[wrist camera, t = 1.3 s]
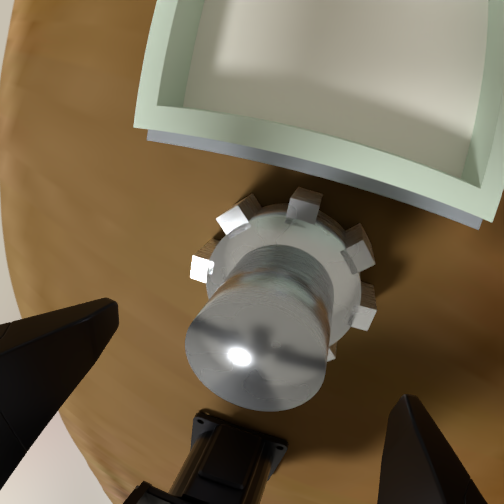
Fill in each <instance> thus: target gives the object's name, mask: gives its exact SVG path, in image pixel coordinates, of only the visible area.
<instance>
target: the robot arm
mask: <svg viewBox="0 0 504 504" xmlns="http://www.w3.org/2000/svg"><path fill="white" fill-rule="evenodd" d="M118 325H119V314H118V304H117V302H116V301H114V300H111V299H109V298H101V299H98V300H94V301H90V302H86V303H82V304H79V305H75V306H71V307H67V308H63V309H59V310H55V311H51V312H48V313H44V314H40V315H36V316H32V317H28V318H24V319H20V320H17V321H13V322H11V323H10V322H9V323H5V324H1V325H0V490H1V489H2V487H3V486H4V484H5V483H6V481H7V480H8V478H9V477H10V475H11V474H12V473H13V471H14V470H15V468H16V467H17V466H18V464H19V463H20V461H21V460H22V458H23V457H24V456H25V454H26V453H27V451H28V450H29V449H30V447H31V446H32V444H33V443H34V441H35V440H36V439H37V438H38V436H39V435H40V434H41V432H42V431H43V429H44V428H45V427H46V426H47V424H48V423H49V422H50V420H51V419H52V418H53V416H54V415H55V414H56V412H57V411H58V410H59V408H60V407H61V406H62V405H63V403H64V402H65V401H66V399H67V398H68V397H69V396H70V394H71V393H72V392H73V390H74V389H75V388H76V387H77V385H78V384H79V383H80V382H81V380H82V379H83V378H84V376H85V375H86V374H87V373H88V371H89V370H90V369H91V368H92V366H93V365H94V364H95V362H96V361H97V359H98V358H99V356H100V355H101V353H102V352H103V350H104V349H105V347H106V345H107V344H108V342H109V341H110V339H111V338H112V336H113V335H114V333H115V332H116V330H117V328H118ZM287 449H288V442H287V441H285V440H282V439H279V438H275V437H272V436H268V435H265V434H261V433H258V432H255V431H252V430H249V429H246V428H243V427H239V426H237V425H234V424H231V423H228V422H225V421H222V420H219V419H217V418H214V417H211V416H208V415H206V414H203V413H196V415H195V417H194V419H193V429H192V439H191V450H190V453H189V455H188V457H187V459H186V460H185V462H184V464H183V466H182V468H181V470H180V472H179V474H178V476H177V477H176V479H175V481H174V483H173V485H172V487H171V489H170V490H169V492H168V493H166V492H164V491H162V490H160V489H158V488H155V487H153V486H152V484H150V483H148V482H146V481H143V482H142V483H141V485H140V486H136V488H135V489H134V490H133V492H132V493H131V494H130V495H129V497H128V498H127V499H126V500H125V502H124V503H123V504H260V501H261V498H262V495H263V492H264V488H265V485H266V482H267V481H268V480H269V478H270V477H271V475H272V474H273V472H274V471H275V469H276V467H277V466H278V464H279V463H280V461H281V459H282V458H283V456H284V454H285V453H286V451H287ZM377 504H488V503H487V502H486V501H485V499H484V498H483V496H482V495H481V493H480V491H479V490H478V488H477V487H476V485H475V484H474V482H473V480H472V479H470V476H469V474H468V473H467V471H466V469H465V468H464V466H463V465H462V463H461V461H460V460H459V458H458V457H457V455H456V454H455V452H454V451H453V449H452V448H451V446H450V444H449V443H448V441H447V440H446V438H445V437H444V435H443V434H442V432H441V431H440V429H439V428H438V426H437V425H436V423H435V422H434V420H433V419H432V417H431V416H430V415H429V413H428V412H427V410H426V409H425V407H424V406H423V404H422V403H421V401H420V400H419V399H418V397H417V396H415V395H410V394H404V395H402V397H401V398H400V399H399V401H398V402H397V404H396V405H395V406H394V408H393V409H392V410H391V412H390V415H389V419H388V425H387V432H386V438H385V444H384V449H383V455H382V462H381V472H380V484H379V493H378V502H377Z"/></svg>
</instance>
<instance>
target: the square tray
mask: <svg viewBox="0 0 504 504" xmlns="http://www.w3.org/2000/svg"><path fill="white" fill-rule="evenodd" d="M133 127H135V128H143V129H148V135H147V140H148V141H155V142H161V143H167V144H173V145H179V146H184V147H190V148H195V149H200V150H206V151H211V152H216V153H221V154H226V155H230V156H235V157H240V158H244V159H249V160H253V161H258V162H262V163H266V164H271V165H275V166H279V167H283V168H287V169H291V170H295V171H299V172H303V173H306V174H310V175H314V176H318V177H321V178H325V179H329V180H332V181H336V182H339V183H343V184H346V185H350V186H353V187H356V188H360V189H363V190H366V191H370V192H373V193H376V194H379V195H382V196H385V197H389V198H392V199H395V200H398V201H401V202H404V203H407V204H410V205H413V206H415V207H418V208H421V209H424V210H427V211H430V212H432V213H435V214H438V215H441V216H443V217H446V218H449V219H451V220H454V221H457V222H459V223H462V224H465V225H467V226H470V227H472V228H475V229H477V230H479V228H480V225H481V222H482V219H485V220H487V221H489V222H493V219H494V216H495V214H496V211H497V208H498V205H499V202H500V198H501V195H502V192H503V189H504V0H157V3H156V7H155V11H154V15H153V19H152V24H151V28H150V32H149V37H148V42H147V46H146V51H145V56H144V62H143V67H142V73H141V78H140V84H139V91H138V97H137V104H136V111H135V119H134V126H133Z"/></svg>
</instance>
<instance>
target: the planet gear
mask: <svg viewBox="0 0 504 504" xmlns="http://www.w3.org/2000/svg"><path fill="white" fill-rule="evenodd" d="M322 196H323V194H322V193H319V192H315V191H312V190H308V189H304V188H300V187H298V188H297V189H296V191H295V192H294V194H293V195H292V196H291V198H290V202H289V203H281V204H273V205H268V206H265V207H263V208H262V207H261V205H260V204H259V202H258V200H257V199H256V197H255V196H254V194H253V193H252V194H251V195H249V196H248V197H246V198H244V199H243V200H241V201H240V202H238V203H236V204H235V205H233V206H232V207H231V208H229V209H228V210H227V211H225V212H224V213H223V214H221V215H220V216H219V217H217V218H216V220H217V221H218V223H219V224H220V226H221V227H222V229H223V230H224V232H225V233H226V236H225V237H224V238H222V239H221V241H220V240H216V239H213V238H212V239H211V240H210V241H208V242H207V243H206V244H205V245H204V246H203V247H202V248H201V249H200V250H198V251H197V252H196V253H195V254H194V255H193V258H192V267H191V276H190V278H193V279H196V280H199V281H202V282H205V283H206V287H207V293H208V298H209V301H208V302H207V303H206V305H205V306H204V307H203V309H202V310H201V311H200V312H199V314H198V315H197V316H196V318H195V319H194V320H193V322H192V323H191V325H190V327H189V328H188V331H187V334H186V339H185V350H186V355H187V358H188V361H189V364H190V366H191V368H192V370H193V371H194V373H195V374H196V376H197V377H198V378H199V379H200V381H201V382H202V383H203V384H204V385H205V386H206V387H207V388H209V389H210V390H211V391H212V392H213V393H215V394H216V395H218V396H219V397H221V398H223V399H224V400H226V401H228V402H230V403H232V404H235V405H238V406H240V407H244V408H247V409H251V410H257V411H282V410H288V409H291V408H295V407H297V406H299V405H302V404H303V403H305V402H307V401H308V400H310V399H311V398H312V397H313V396H314V395H315V394H316V393H317V392H318V390H319V389H320V387H321V386H322V383H323V381H324V377H325V372H326V364H327V361H330V360H333V359H336V351H337V341H338V340H339V339H340V338H341V337H342V336H343V335H344V334H345V333H346V332H347V331H348V330H349V328H350V327H354V328H358V329H361V330H365V331H368V329H369V326H370V324H371V322H372V320H373V318H374V316H375V313H376V311H377V307H376V299H375V291H374V285H371V284H367V283H364V282H361V279H360V272H361V271H363V270H365V269H367V268H369V267H371V266H373V265H375V259H374V254H373V249H372V244H371V242H370V240H369V238H368V236H367V235H366V233H365V231H364V229H363V227H362V225H361V223H359V224H357V225H355V226H354V227H352V228H350V229H348V230H346V231H345V230H344V229H343V228H342V227H341V226H340V225H339V224H338V223H337V222H336V221H335V220H334V219H332V218H331V217H329V216H328V215H327V214H325V213H323V212H321V211H319V208H320V204H321V200H322Z"/></svg>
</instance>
